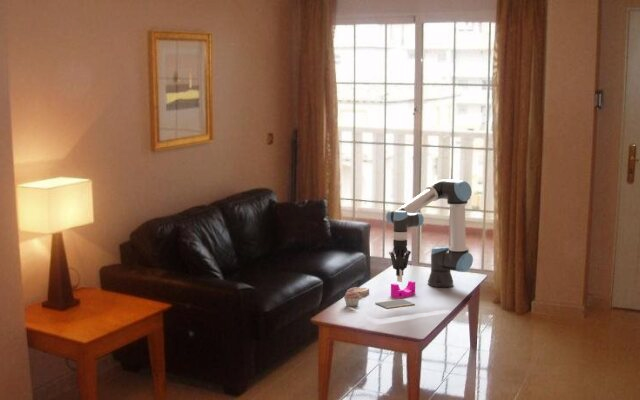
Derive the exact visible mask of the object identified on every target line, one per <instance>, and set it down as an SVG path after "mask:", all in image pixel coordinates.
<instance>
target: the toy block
mask: <svg viewBox="0 0 640 400" xmlns="http://www.w3.org/2000/svg"><path fill="white" fill-rule="evenodd" d="M415 294H416V281H413V280H408V283H407V285H406V286H405V288H403V289H401V287H400V284H398V283H394V282H393V283H390V296H391V297H392V296H393V298H395V299H396V300H399V299H404V298H408V297H409V298H410V297H412V296H413V295H415ZM403 297H404V298H403Z"/></svg>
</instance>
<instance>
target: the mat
mask: <svg viewBox="0 0 640 400" xmlns="http://www.w3.org/2000/svg"><path fill="white" fill-rule="evenodd" d="M374 303H375V305H377V306H379V307H382V308H383V309H387V310H388V309H389V310H390V309H396V308H402V307H408V306H415V303H414V302H411V301H408V300H406V299H404V298H398V299H393V300H386V301H378V302H374Z"/></svg>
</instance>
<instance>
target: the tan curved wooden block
mask: <svg viewBox="0 0 640 400" xmlns="http://www.w3.org/2000/svg"><path fill="white" fill-rule="evenodd" d="M352 288H353V289H355V290H356V291H357V292H358V293H359V296H360V299H362V298H364V297H366V296H368V295H370V288H367V287H360V286H358V287H357V286H354V287H352ZM348 290H349V289H347V290H346V292H348Z"/></svg>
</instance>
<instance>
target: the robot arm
mask: <svg viewBox="0 0 640 400" xmlns="http://www.w3.org/2000/svg"><path fill="white" fill-rule="evenodd" d="M472 192H473V191H472V187H471V185H470V184H469V183H468V182H467V181H466V180H461V179H451V178H450V179H448V178H444V179H440V180H437V181H435V182H434V183H432V184H430V185H428V186H426V188H425V190H424V191H422V192H421V193H419V194H417V196H415V197H414V198H411V200H409V201H407V202H406V203H404V204H403V205H401V206H400V207H399V208H397V209H395V210H394V209H391V210H388V211H387V212H386V216H385V218H386V221H387V223H389V224H392V225H393V236H392V237H393V244H392V245H393V248H392V251H390V252H389V256H390V258H391V265H392V268H393V270H395V275H396V277H397V278H396V279H397V281H396V282H399V283H402V282H403V276H404V271H405V270H406V269H407V267H408V264H409V263H408V262H409V258H410V255H411V253H412V251H411V250H408V248H407V246H408V240H407V239H408V228H414V227H420V226H422V225H423V224H424V222H425V221H424V220H425V219H424V216H423V214H422V213H421V212H418V211H420V210H421V209H423V208H425V207H426V206H427V205H429V204H430V203H432V202H436V201H439V200H442V199H444V200H446V203H447V205H448V206H449V211H450V212H449V213H450V214H449V216H450V218H449V220H450V246H436V247H432V249H431V251H430V274H429V276H428V280H427V285H429V286H430V287H435V288H448V287H452V286H454V280H453V277H452V273H451V271H454V272H455V271H456V272H458V273H460V272H461V273H465V272H468V271H469V270H470V268H471V267H472V265H473V261H474V257H473V255H472V253H470V252H469V247H468V246H467V244H466V243H467V240H466V235H467V234H466V205H467V204H468V201H470V199H471V197H472Z"/></svg>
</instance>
